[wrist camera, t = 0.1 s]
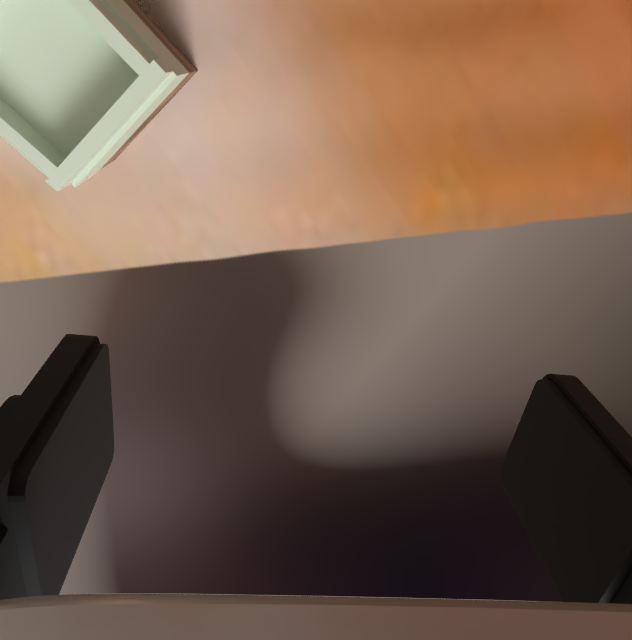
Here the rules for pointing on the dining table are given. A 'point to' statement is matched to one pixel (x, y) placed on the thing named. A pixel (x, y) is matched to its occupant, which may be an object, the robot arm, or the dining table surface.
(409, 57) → the dining table surface
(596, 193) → the dining table surface
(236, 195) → the dining table surface
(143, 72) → the small green shelf
